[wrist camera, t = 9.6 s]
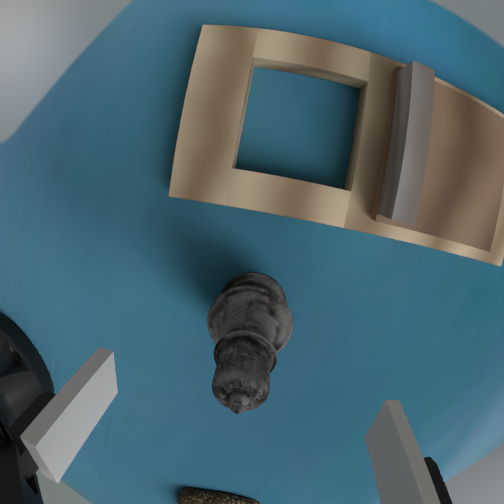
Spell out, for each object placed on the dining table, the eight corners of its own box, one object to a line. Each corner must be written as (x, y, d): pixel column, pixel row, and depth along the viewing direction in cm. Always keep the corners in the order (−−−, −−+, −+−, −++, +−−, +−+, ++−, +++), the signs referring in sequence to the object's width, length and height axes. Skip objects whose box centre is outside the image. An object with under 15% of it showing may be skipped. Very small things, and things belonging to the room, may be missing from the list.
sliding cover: (370, 218, 19) (389, 228, 16) (392, 70, 16) (412, 54, 13) (482, 249, 19) (508, 260, 15) (501, 122, 16) (528, 119, 12)
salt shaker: (233, 256, 22) (194, 340, 11) (303, 287, 23) (328, 390, 11) (205, 318, 24) (160, 424, 12) (270, 346, 24) (267, 461, 13)
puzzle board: (177, 194, 22) (168, 196, 20) (208, 35, 18) (202, 24, 16) (488, 260, 21) (500, 266, 19) (509, 128, 18) (522, 127, 16)
